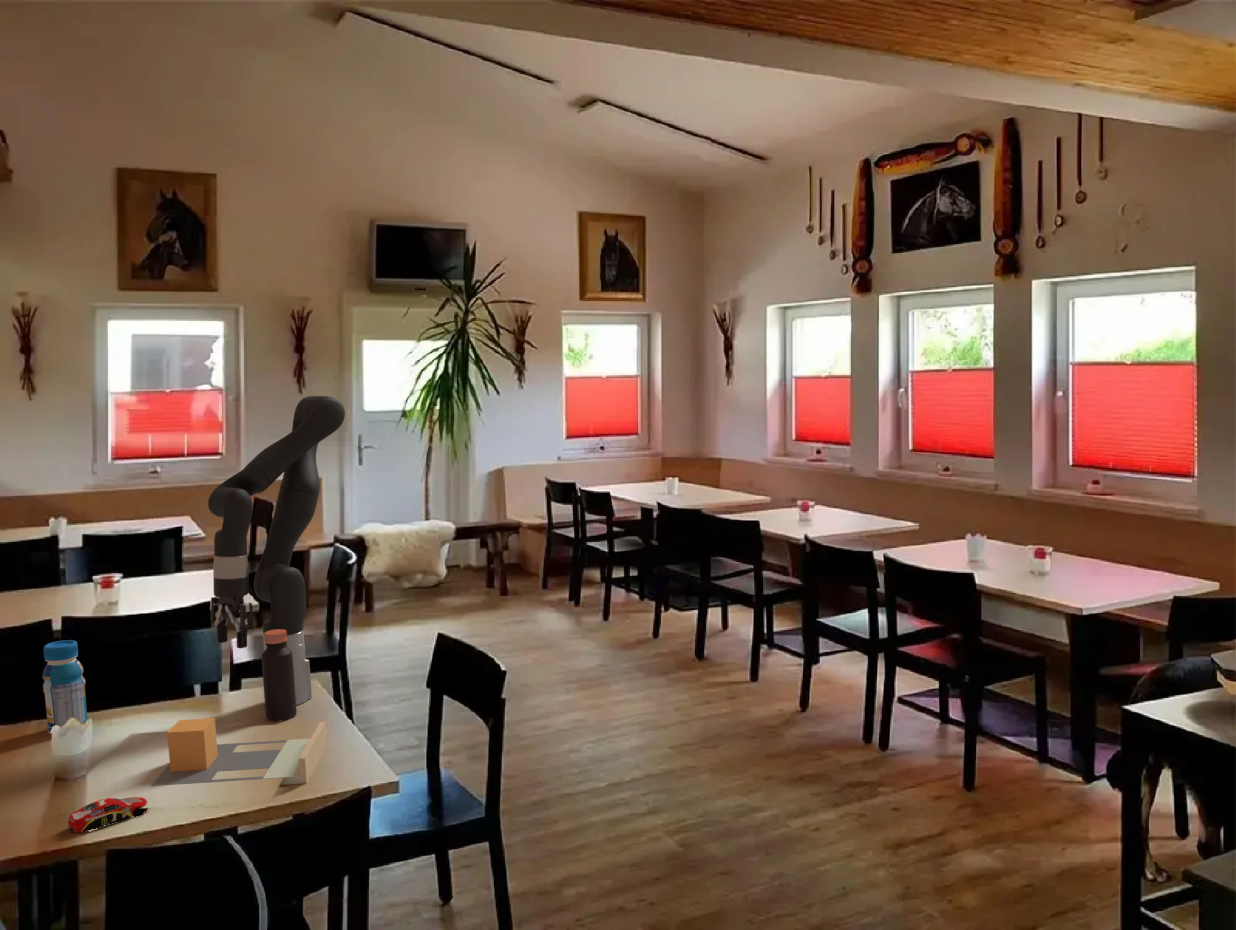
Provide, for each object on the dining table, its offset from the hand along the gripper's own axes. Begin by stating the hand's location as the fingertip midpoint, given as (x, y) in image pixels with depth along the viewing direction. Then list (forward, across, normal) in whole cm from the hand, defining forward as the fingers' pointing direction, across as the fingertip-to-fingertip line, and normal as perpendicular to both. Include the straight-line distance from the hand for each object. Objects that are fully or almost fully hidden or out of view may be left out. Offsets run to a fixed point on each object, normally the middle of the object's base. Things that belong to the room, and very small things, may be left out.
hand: (231, 645), depth 234 cm
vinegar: (+17, -8, -8) cm, 20 cm away
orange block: (+17, -21, +21) cm, 34 cm away
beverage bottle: (+19, +26, +25) cm, 41 cm away
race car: (+21, -30, +41) cm, 55 cm away
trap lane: (+18, -28, +14) cm, 36 cm away
